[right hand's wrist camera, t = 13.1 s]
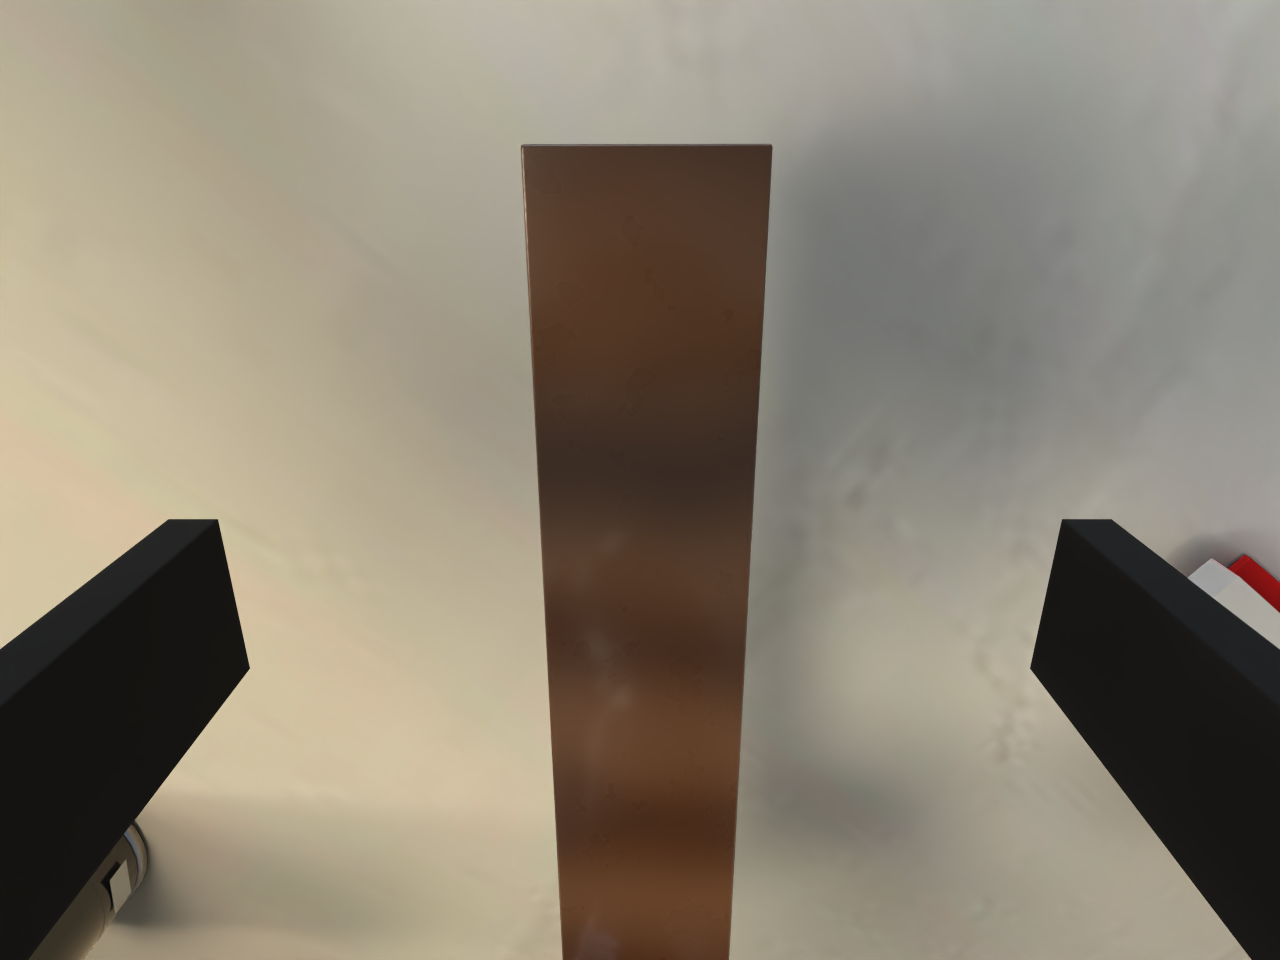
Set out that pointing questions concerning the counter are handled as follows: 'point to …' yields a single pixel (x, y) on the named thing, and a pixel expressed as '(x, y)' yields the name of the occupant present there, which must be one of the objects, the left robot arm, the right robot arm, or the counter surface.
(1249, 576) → the toy
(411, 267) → the counter surface
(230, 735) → the counter surface
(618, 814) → the walnut bar
